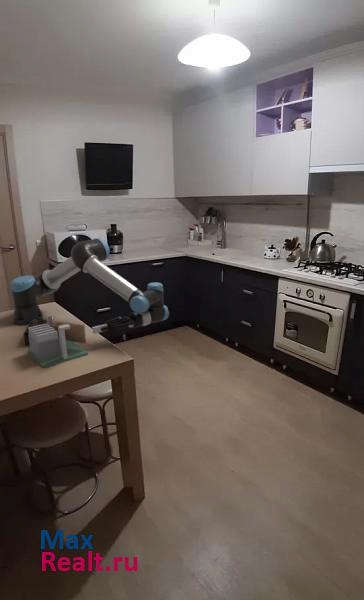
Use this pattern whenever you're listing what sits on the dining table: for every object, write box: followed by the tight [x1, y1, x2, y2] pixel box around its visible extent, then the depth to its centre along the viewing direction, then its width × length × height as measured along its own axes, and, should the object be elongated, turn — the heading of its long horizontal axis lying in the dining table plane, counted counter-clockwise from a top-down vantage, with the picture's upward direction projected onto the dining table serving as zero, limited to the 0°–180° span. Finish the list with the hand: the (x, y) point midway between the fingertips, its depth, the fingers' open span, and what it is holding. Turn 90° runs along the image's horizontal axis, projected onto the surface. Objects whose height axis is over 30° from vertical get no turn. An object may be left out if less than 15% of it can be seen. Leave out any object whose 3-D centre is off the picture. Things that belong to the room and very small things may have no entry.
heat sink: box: [27, 322, 89, 369], centre depth 150 cm, size 20×19×14 cm
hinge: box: [47, 316, 87, 344], centre depth 154 cm, size 18×2×12 cm, turn 68°
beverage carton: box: [23, 319, 48, 346], centre depth 168 cm, size 8×19×7 cm, turn 13°
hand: (93, 330), depth 155 cm, fingers closed
